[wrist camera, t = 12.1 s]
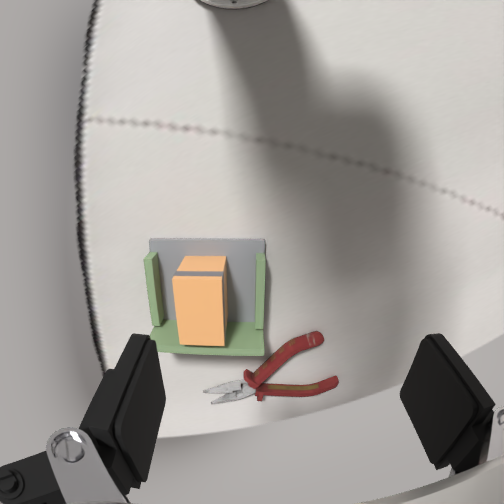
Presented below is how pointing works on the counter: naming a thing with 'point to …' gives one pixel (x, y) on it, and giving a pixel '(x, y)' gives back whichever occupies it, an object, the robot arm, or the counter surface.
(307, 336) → the pliers
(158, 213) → the counter surface
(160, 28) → the counter surface
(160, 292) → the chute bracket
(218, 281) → the chute block
